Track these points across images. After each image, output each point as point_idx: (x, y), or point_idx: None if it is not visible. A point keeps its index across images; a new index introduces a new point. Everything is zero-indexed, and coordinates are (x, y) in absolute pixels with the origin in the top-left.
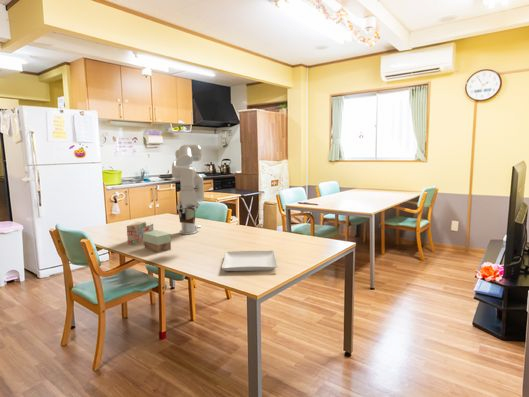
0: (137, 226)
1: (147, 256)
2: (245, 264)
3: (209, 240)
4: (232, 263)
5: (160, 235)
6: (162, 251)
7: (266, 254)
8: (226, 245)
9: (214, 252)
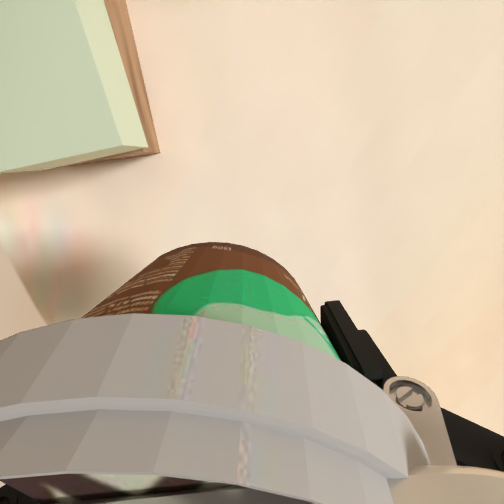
0: None
1: (6, 197)
2: None
3: (453, 118)
4: None
5: (22, 148)
6: (103, 160)
7: None
8: (432, 282)
9: None
